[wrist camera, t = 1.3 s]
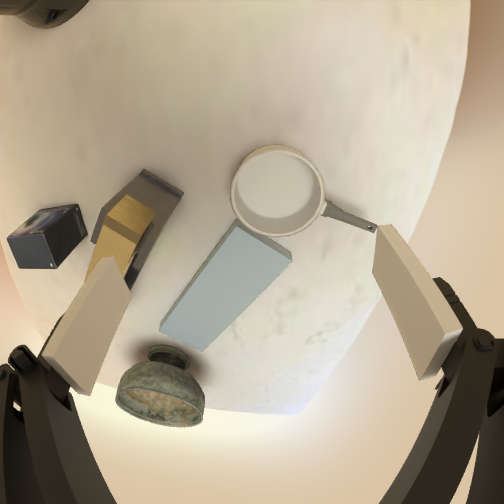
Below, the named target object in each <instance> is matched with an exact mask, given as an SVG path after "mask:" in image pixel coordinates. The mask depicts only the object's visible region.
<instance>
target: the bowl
mask: <svg viewBox="0 0 504 504" xmlns="http://www.w3.org/2000/svg"><path fill="white" fill-rule="evenodd" d="M148 358H149V360H150V361H149V362H142V363H138V364H136V365H134V366H132V367H131V368H130V369H128V370H127V371H126V372H125V373H124V375H123V376H122V378H121V380H120V383H119V386H118V389H117V394H116V399H115V401H116V404H117V405H118V406H119V407H120V408H121V409H123V410H124V411H126V412H128V413H129V414H131V415H133V416H135V417H137V418H139V419H142V420H145V421H149V422H151V423H155V424H159V425H164V426H169V427H192V426H196V425H198V424H200V423H201V422H202V420H203V412H204V407H205V406H204V405H205V396H204V393H203V391H202V389H201V387H200V386H199V384H198V383H197V381H196V380H195V379H194V377H193V376H192V375H191V374H190V373H188V372H187V371H185V370H187V369H188V367H189V364H190V361H189V359H188V357H187V356H186V355H185V354H184V353H183V352H182V351H180V350H178V349H176V348H174V347H170V346H164V345H159V346H154V347H152V348H150V349H149V352H148Z"/></svg>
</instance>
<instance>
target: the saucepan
mask: <svg viewBox="0 0 504 504" xmlns="http://www.w3.org/2000/svg"><path fill="white" fill-rule="evenodd" d="M324 198H325V187H324V182H323V179H322V176H321V174H320V173H319V171H318V169H317V168H316V167H315V165H314V164H313V163H312V162H311V161H309V160H308V159H307V158H305V157H304V156H303V155H302V154H301V153H300V152H298V151H297V150H295V149H293V148H290V147H287V146H283V145H269V146H264V147H261V148H259V149H257V150H255V151H253V152H252V153H250V154H249V155H248V156H247V157H246V158H245V159H244V161H243V162H242V163H241V165H240V167H239V169H238V171H237V172H236V173H235V176H234V178H233V180H232V183H231V188H230V200H231V204H232V208H233V210H234V212H235V214H236V216H237V217H238V219H239V220H240V221H241V223H243V224H244V225H245V226H246V227H247V228H248V229H250V230H252V231H253V232H255V233H258V234H261V235H263V236H269V237H285V236H290V235H293V234H296V233H298V232H300V231H302V230H304V229H305V228H307V227H308V226H309V225H310V224H312V223H313V221H314V220H315V219H316V218H317V217H318V215H319V214H320V215H321V216H324V217H331V218H334V219H337V220H340V221H343V222H346V223H348V224H351V225H354V226H356V227H359V228H362V229H364V230H367V231H370V232H372V233H374V232H375V230H376V229H377V225H376V224H374V223H371V222H369V221H366V220H364V219H362V218H359V217H357V216H354V215H352V214H349V213H347V212H344V211H343V210H341V209H340V208H338V207H337V206H335V205H334V204H333V203H332V202H331V201H328V200H324ZM368 226H371V227H368Z"/></svg>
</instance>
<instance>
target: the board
mask: <svg viewBox="0 0 504 504" xmlns="http://www.w3.org/2000/svg"><path fill="white" fill-rule="evenodd" d="M291 262H292V256H291V252H290V251H288V250H287V249H285V248H284V247H282V246H281V245H279V244H277V243H276V242H274V241H273V240H271V239H270V238H268V237H266V236H263V235H261V234H258V233H255V232H253V231H252V230H250V229H248V228H247V227H246V226H245V225H244V224H243V223H241V221H240V220H239V219H238V218H237V219H236V221H235V222H234V223H233V225H232V226H231V227H230V229H229V230H228V231H227V233H226V234H225V235H224V237H223V238H222V239H221V241H220V242H219V243H218V245H217V246H216V247H215V249H214V250H213V251H212V253H211V254H210V255H209V257H208V258H207V259H206V261H205V262H204V264H203V265H202V266H201V268H200V269H199V270H198V272H197V273H196V274H195V276H194V277H193V279H192V280H191V281H190V283H189V284H188V285H187V287H186V288H185V290H184V291H183V292H182V294H181V295H180V297H179V298H178V299H177V301H176V302H175V303H174V305H173V306H172V308H171V309H170V311H169V312H168V313H167V315H166V316H165V318H164V319H163V320H162V322H161V325H160V328H159V331H160V332H162V333H164V334H166V335H168V336H170V337H172V338H174V339H176V340H178V341H180V342H182V343H185V344H187V345H189V346H191V347H193V348H196V349H198V350H200V351H204V350H205V349H206V348H207V347H208V346H209V345H210V344H211V343H212V342H213V341H214V340H215V339H216V338H217V337H218V336H219V335H220V334H221V333H222V332H223V331H224V330H225V329H226V328H227V327H228V326H229V325H230V324H231V323H232V322H233V321H234V320H235V319H236V318H237V317H238V316H239V315H240V314H241V313H242V312H243V311H244V310H245V309H246V308H247V307H248V306H249V305H250V304H251V303H252V302H253V301H254V300H255V299H256V298H257V297H258V296H259V295H260V294H261V293H262V292H263V291H264V290H265V289H266V288H267V287H268V286H269V285H270V284H271V283H272V282H273V281H274V280H275V279H276V278H277V277H278V276H279V275H280V274H281V273H282V272H283V271H284V269H285V268H286V267H287V266H288V265H289V264H290V263H291Z"/></svg>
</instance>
